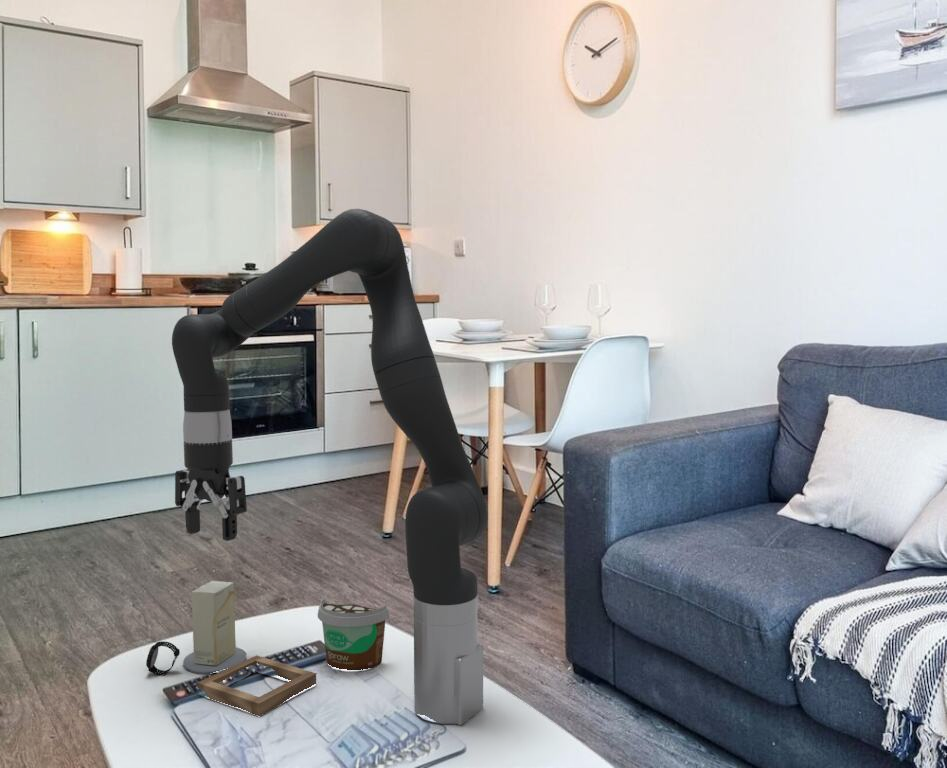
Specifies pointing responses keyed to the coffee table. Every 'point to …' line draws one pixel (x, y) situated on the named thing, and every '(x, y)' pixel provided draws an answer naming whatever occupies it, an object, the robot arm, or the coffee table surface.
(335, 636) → the food container
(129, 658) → the coffee table surface
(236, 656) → the slate coaster
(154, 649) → the smartwatch
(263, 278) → the robot arm
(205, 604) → the skincare box
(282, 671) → the frame
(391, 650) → the coffee table surface
